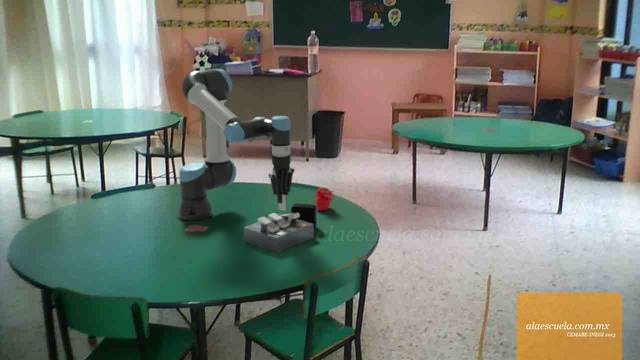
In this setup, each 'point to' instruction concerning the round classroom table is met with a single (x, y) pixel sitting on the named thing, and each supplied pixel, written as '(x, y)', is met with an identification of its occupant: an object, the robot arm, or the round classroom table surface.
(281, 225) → the rocker mid
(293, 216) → the rocker far
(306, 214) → the electronic device
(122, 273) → the round classroom table surface
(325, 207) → the heart organ
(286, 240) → the console
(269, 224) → the rocker near
